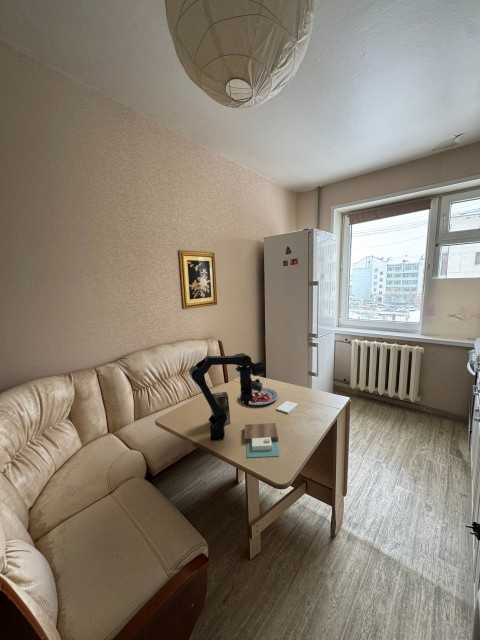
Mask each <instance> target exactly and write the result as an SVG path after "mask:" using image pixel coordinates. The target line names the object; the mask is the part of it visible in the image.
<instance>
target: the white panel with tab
mask: <svg viewBox="0 0 480 640" xmlns="http://www.w3.org/2000/svg"><path fill="white" fill-rule="evenodd" d="M252 449H253V450H272V442H271V437H268V438H252Z"/></svg>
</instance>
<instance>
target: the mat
mask: <svg viewBox="0 0 480 640" xmlns="http://www.w3.org/2000/svg"><path fill="white" fill-rule="evenodd" d="M277 442H278V441H273V442H272V450H253V449H252V443H246V457H247V458H248V459H249V458H251V459H253V458H274V457H280V452H279V448H278V444H277Z"/></svg>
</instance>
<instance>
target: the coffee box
mask: <svg viewBox="0 0 480 640" xmlns="http://www.w3.org/2000/svg"><path fill="white" fill-rule="evenodd" d="M212 395H213V397H214V399H215V401H216V402H217V404H218V405H219V404H221V405H222V406H223V408H224V410H225V412H226V413H227V415H226V416H227V420H226V422H225V424H224V425H227V424H231V423H232V422H231V414H230V413H231V412H230V403H229V394H228V392H227V391H222V392H215V393H212Z"/></svg>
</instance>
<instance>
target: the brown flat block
mask: <svg viewBox="0 0 480 640" xmlns="http://www.w3.org/2000/svg"><path fill="white" fill-rule="evenodd" d="M276 425H277V424H276V423H275V422H271V423H270V422H269V423H251V424H244V444H247V443H252V438H268V437H271V442H274V441H276V442H279V436H278V432H277V426H276Z"/></svg>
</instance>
